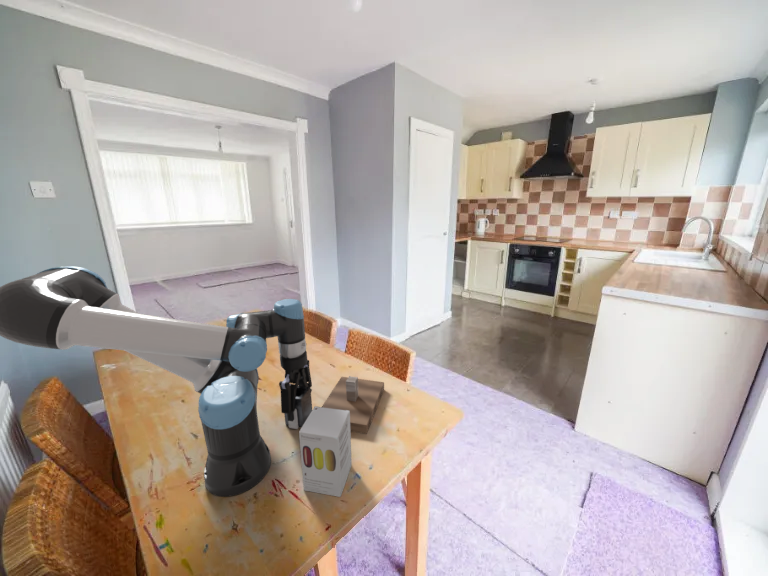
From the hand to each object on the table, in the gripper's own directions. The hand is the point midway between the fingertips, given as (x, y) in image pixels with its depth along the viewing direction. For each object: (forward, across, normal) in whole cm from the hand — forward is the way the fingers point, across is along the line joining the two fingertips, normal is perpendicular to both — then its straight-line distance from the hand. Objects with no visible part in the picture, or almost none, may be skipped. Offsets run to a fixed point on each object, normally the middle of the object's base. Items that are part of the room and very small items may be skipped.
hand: (299, 418), depth 95 cm
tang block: (0, +10, -14) cm, 17 cm away
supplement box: (+1, -17, -17) cm, 24 cm away
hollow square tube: (0, 0, 0) cm, 0 cm away
